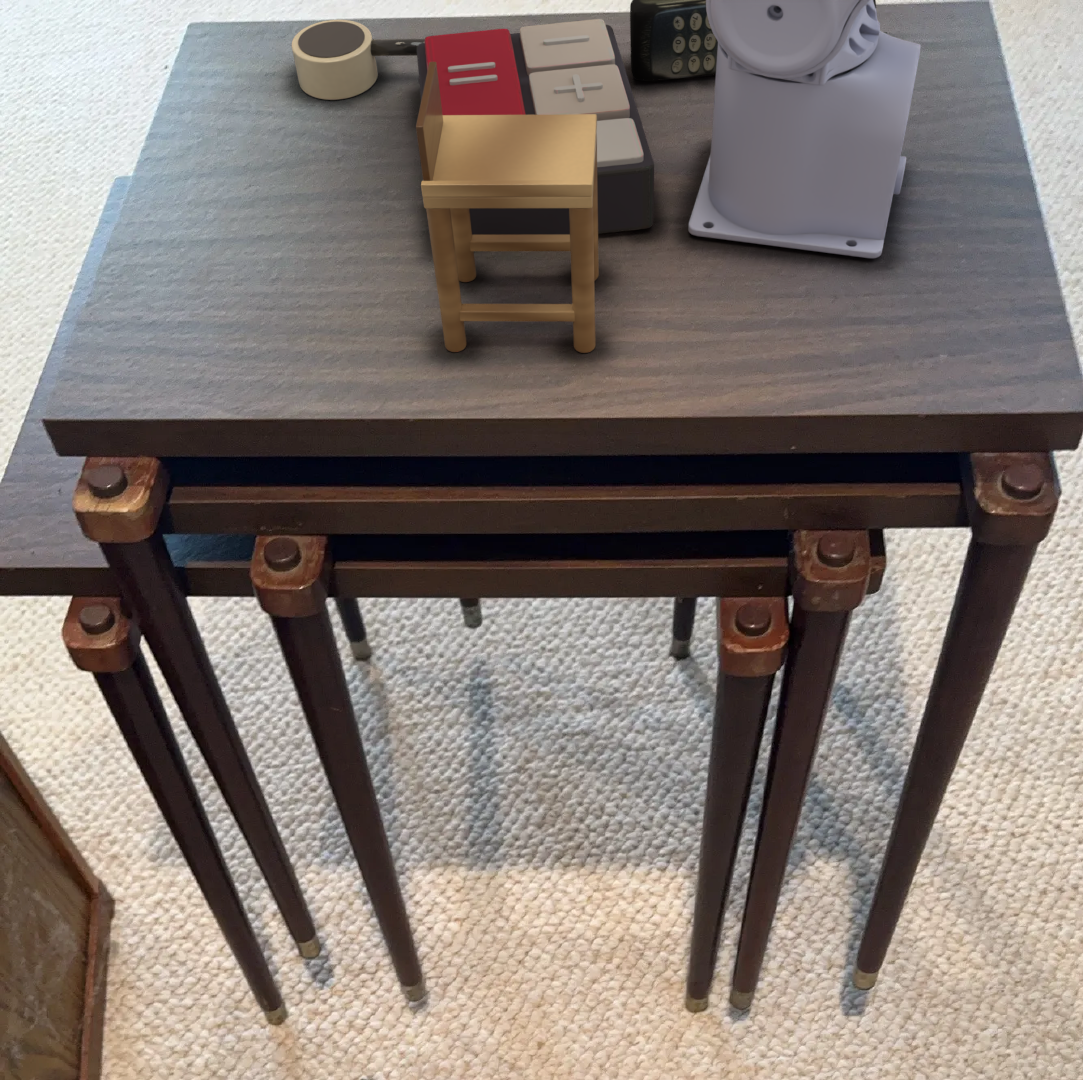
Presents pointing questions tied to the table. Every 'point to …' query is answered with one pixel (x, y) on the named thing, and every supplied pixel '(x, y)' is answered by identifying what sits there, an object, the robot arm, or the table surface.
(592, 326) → the stand
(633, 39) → the mobile phone
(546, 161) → the wooden l-shaped block
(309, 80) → the pan
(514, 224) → the calculator
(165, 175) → the table surface
